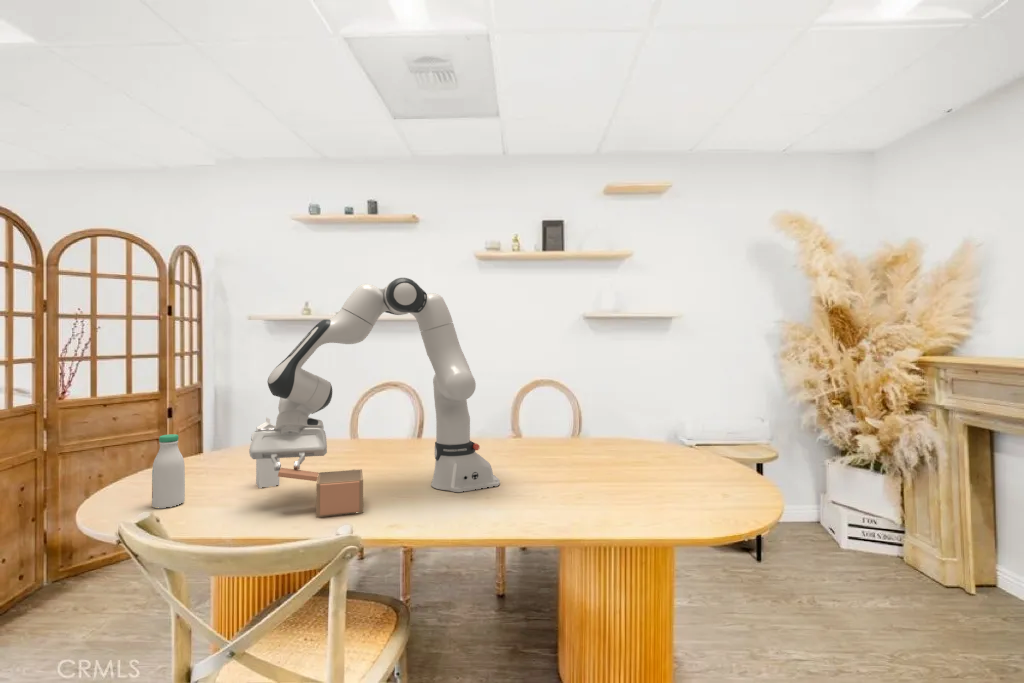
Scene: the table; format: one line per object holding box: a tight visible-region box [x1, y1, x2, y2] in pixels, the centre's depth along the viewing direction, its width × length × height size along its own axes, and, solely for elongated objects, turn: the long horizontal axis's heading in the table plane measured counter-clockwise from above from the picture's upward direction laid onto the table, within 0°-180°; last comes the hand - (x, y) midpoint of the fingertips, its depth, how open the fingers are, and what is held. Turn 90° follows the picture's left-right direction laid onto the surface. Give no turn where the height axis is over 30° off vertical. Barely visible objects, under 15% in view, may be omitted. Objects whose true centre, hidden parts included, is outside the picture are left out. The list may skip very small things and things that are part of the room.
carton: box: [315, 468, 364, 518], centre depth 139 cm, size 12×13×9 cm
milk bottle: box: [151, 433, 186, 509], centre depth 142 cm, size 8×8×20 cm
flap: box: [278, 467, 320, 482], centre depth 136 cm, size 1×5×10 cm
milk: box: [255, 416, 281, 489], centre depth 162 cm, size 6×6×22 cm
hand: (287, 469), depth 136 cm, fingers closed on flap, 3 cm apart
